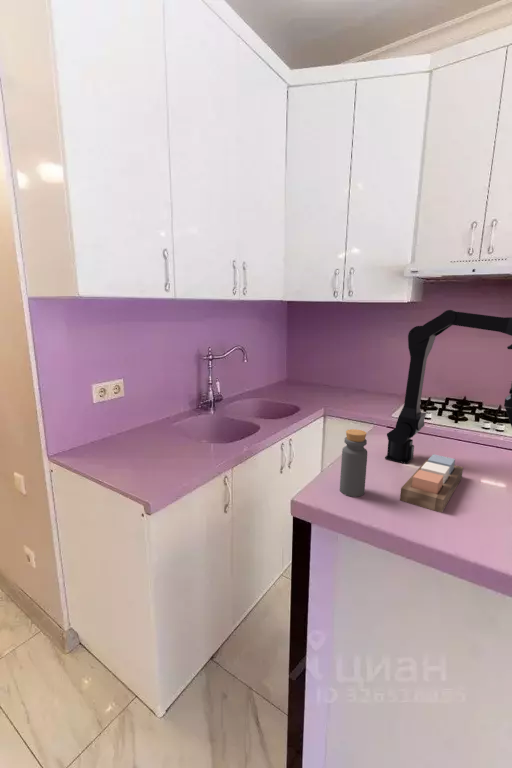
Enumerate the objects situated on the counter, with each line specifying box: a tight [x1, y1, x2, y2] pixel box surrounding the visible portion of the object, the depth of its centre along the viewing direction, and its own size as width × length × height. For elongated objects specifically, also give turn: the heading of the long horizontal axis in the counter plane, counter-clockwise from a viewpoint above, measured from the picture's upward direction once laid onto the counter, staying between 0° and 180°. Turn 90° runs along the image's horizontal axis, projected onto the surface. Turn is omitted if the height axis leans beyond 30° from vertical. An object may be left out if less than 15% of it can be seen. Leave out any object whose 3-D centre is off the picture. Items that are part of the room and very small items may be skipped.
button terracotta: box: [412, 470, 443, 495], centre depth 89 cm, size 5×5×4 cm
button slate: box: [427, 453, 456, 475], centre depth 100 cm, size 5×5×4 cm
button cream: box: [421, 462, 450, 484], centre depth 94 cm, size 5×5×4 cm
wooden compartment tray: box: [399, 458, 464, 514], centre depth 94 cm, size 9×24×3 cm, turn 143°
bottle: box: [339, 428, 368, 498], centre depth 91 cm, size 6×6×15 cm
